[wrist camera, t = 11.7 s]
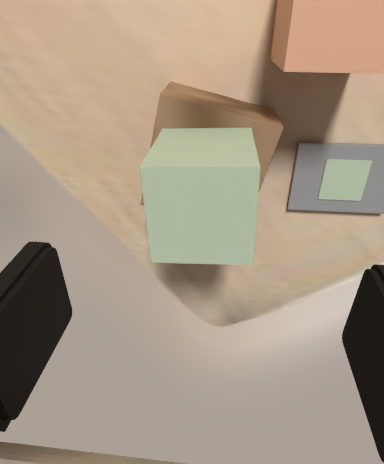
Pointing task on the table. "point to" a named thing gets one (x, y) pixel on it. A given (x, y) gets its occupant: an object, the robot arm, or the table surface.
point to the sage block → (201, 196)
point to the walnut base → (218, 118)
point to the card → (338, 178)
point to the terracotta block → (329, 36)
